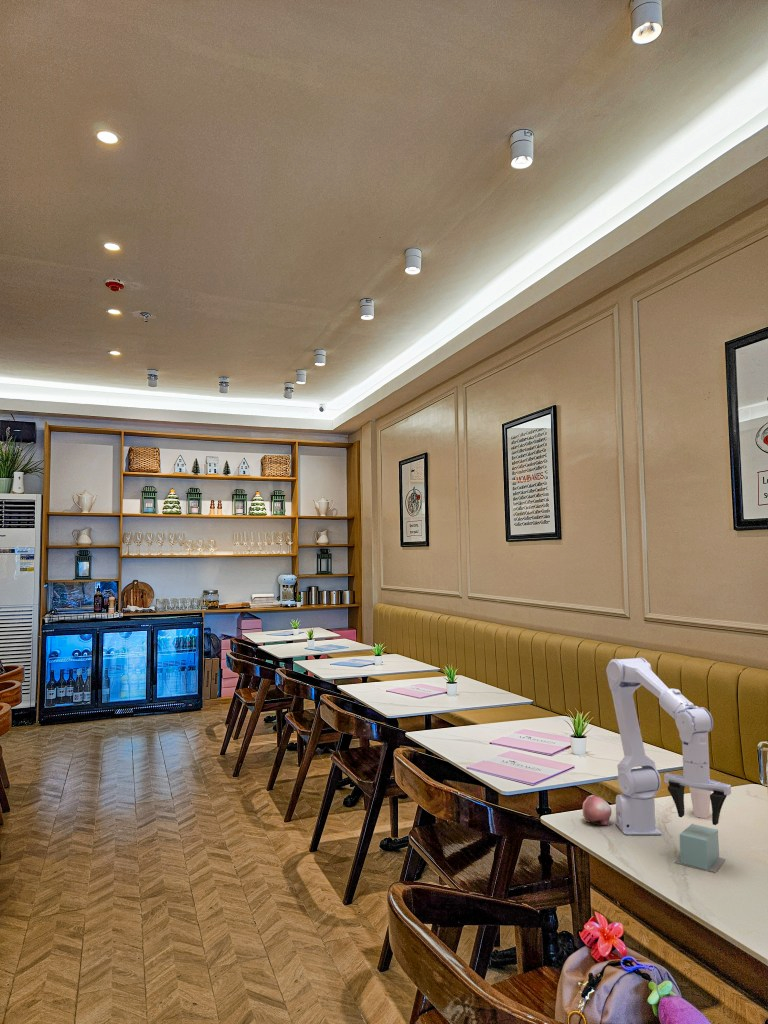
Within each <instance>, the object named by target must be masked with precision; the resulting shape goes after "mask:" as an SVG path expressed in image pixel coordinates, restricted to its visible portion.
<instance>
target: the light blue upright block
mask: <svg viewBox="0 0 768 1024" xmlns="http://www.w3.org/2000/svg"><path fill="white" fill-rule="evenodd" d="M719 846H720V845H719V829H717V828H712V827H708V826H703V825H700V824H695V823H691V824H690V825H688V826H687V827H686V828H685V829H684V830H683V831H682V832H680V833H679V850H680V852H679V856H680V858H681V863H684V864H688V865H691V866H695V867H699V868H702V869H706V870H708V869H709V868H710V867H711V866H712V865H713V863H714V862H715V861H716V860H717V859H718V858H719V857H720V848H719ZM702 869H701V870H702ZM706 870H705V871H706Z"/></svg>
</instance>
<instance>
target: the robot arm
mask: <svg viewBox="0 0 768 1024" xmlns="http://www.w3.org/2000/svg"><path fill="white" fill-rule="evenodd" d="M651 665H652V664H651V663H650V662H649V661H647V660H646V659H645V658H644V657H634V658H621V659H620V658H619V659H618V658H613V659H611V660H610V661H609V662H608V664H607V667H606V669H605V670H606V677H607V682H608V687H609V690H610V691H611V695H612V701H613V706H614V710H615V715H616V716H615V717H616V723H617V725H618V731H619V736H620V740H621V741H620V742H621V746H622V750H623V758H622V759H621V760H620V761H619V763H618V764H617V784H618V788H619V789H620V790H621V792H622V793H621V794H616V796H615V817H616V818H615V824H616V826H617V827H618V829H619V830H620V831H621V832H622V833H623V834H624V835H628V836H629V835H631V836H633V835H636V836H637V835H646V836H647V835H649V836H650V835H653V836H654V835H658V836H659V835H662V832H661V831H660V829H658V827H657V826H656V810H655V809H656V807H655V805H656V804H655V803H656V802H655V797H656V796H657V794H658V791H659V790H660V789H661V786H662V778H661V775H660V773H659V771H658V769H657V766H656V762H655V761H654V760H653V759H652V758H650V757H648V755H646V753H645V746H644V743H643V742H644V741H643V737H642V733H641V727H640V724H639V723H640V722H639V719H638V713H637V710H636V704H635V700H634V693H635V692H636V690H638V689H639V688H640V687H641V686H643V687H644V688H645V689H646V690H647V691H649V692H650V693H651V694H653V695H654V696H655V697H657V698H658V703H659V706H660V708H662V709H663V710H664V711H665V712H666V713H667V714H668V715H669V716H670V717H672V718H673V720H675V721H674V722H675V725H676V728H677V730H678V733H679V739H680V741H681V746H682V747H681V749H682V752H681V753H682V769H683V770H682V771H683V773H682V774H678V773H676V774H675V773H670V772H666V773H665V774H664V775H663V776H664V777H663V778H664V779H663V781H664V784H668V785H667V791H668V793H669V794H670V796H671V798H672V801H673V803H674V805H675V808H676V812H677V815H678V818H683V817H684V816H685V787H688V788H690V787H693V788H698V789H703V790H708V791H711V795H710V806H711V814H712V815H711V823H712V825H713V826H717V825H718V824H719V823H720V822H719V821H720V815H721V812H722V807H723V805H724V802H725V800H726V799H727V797H728V796H730V795H731V794H732V785H731V784H728V783H723V782H720V781H718V780H714V779H710V778H711V777H710V776H711V775H710V754H709V752H710V750H709V749H710V747H709V733H710V732H711V731H712V730H713V728H714V719H713V716H712V714H711V712H710V711H709V710H708V709H707V708H705V707H702V706H700V707H699V706H698V705H695V704H694V703H693V702H691V701H690V700H689V699H688V698H687V697H686V696H684V695H683V694H682V692H681V691H680V689H678V688H677V689H676V688H669V687H668V686H667V685H666V684H665V683H664V682H663V681H662V680H661V678H659V676H658V675H657V674H655V673H654V671H653V670H652V666H651ZM638 767H639V768H638Z"/></svg>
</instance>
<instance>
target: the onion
mask: <svg viewBox="0 0 768 1024" xmlns="http://www.w3.org/2000/svg"><path fill="white" fill-rule="evenodd" d="M582 815H583V818H584V819H585V821H586V822H588V823H590V824H594V825H595V824H596V825H600V826H602V825H603V826H611V825H610V824H611V823H610V818H611V816H612V807H611V805H610V804H609V803H608V802H607V801H606V800H605V799H604V798H602V797H601V796H597V795H595V794H591V795H588V796H587V797H586V799H585V800H584V801H583V803H582ZM609 823H610V824H609Z"/></svg>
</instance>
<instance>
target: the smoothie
mask: <svg viewBox="0 0 768 1024" xmlns="http://www.w3.org/2000/svg"><path fill="white" fill-rule="evenodd" d="M689 793H690V799H691V804H692V810H693V816H694V817H696V818H699V817H700V818H699V819H707V817H708V818H709V817H710V807H711V800H710V795H711V794H712V791H708V790H703V789H698V788H693V787H689Z"/></svg>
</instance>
